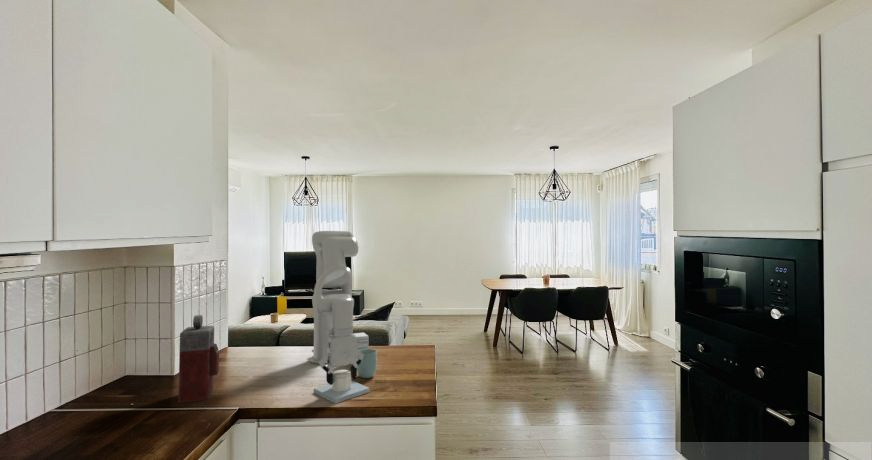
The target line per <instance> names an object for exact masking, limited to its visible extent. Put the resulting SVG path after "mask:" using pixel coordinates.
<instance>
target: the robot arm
mask: <svg viewBox="0 0 872 460" xmlns="http://www.w3.org/2000/svg"><path fill="white" fill-rule="evenodd" d="M311 243H312V244H311V245H312V247H313V251H314V253H315V256H316V266H315V267H316V268H315V269H316V273H315V274H316V275H315V277H316V278H315V280H316V283H315V284H314V289H313V290H314V291H313V295H312V297H311V298H312V299H311V302H312V304H311V305H312V311H313V349H311V352H312V354H313V355H312V356H311V357H310V358H309V362H310V363H312V364H317V365H319V366H320V368H321V369H322V370H323V371H325V372H326V377H325V378H326V382H327V384H330V385H332V384H333V370H334V368H337V367H344V366H348V365H350V371H351V380H353V381H355V380H356V379H357V376H358V373H357V368H358V365H359V364H360V363H361V360H362V359H363V357H364V354H362V353H360V352H358V351H357V343H356V337H355V335H354V307H355V299H354V298H353V297H352V296H353V295H352V293H353V292H352V291H353V272H352V270H351V268H350V267H348V266H347V264H346V258H347V257H349V258H350V257H351V258H353V257H356V256H357V255H358V253H359V242H358V239H357V238H356V236H355V234H353V233H352V232H351V231H347V230H346V231H345V230H344V231H343V230H342V231H341V230H340V231H339V230H319V231H315V232H314V233H313V234H312V236H311ZM323 288H324V290H323ZM326 288H327V289H326ZM328 288H329V289H328ZM330 288H340V289H330ZM325 289H326V290H325ZM358 356H359V357H358ZM325 364H327V365H325Z"/></svg>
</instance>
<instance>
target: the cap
mask: <svg viewBox="0 0 872 460" xmlns="http://www.w3.org/2000/svg"><path fill="white" fill-rule="evenodd" d="M332 373H333V384H332V390H333V391H337V392H340V391H347V390H349V389H351V380H352V378H351V370H349V369H337V370H334V371H332Z"/></svg>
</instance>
